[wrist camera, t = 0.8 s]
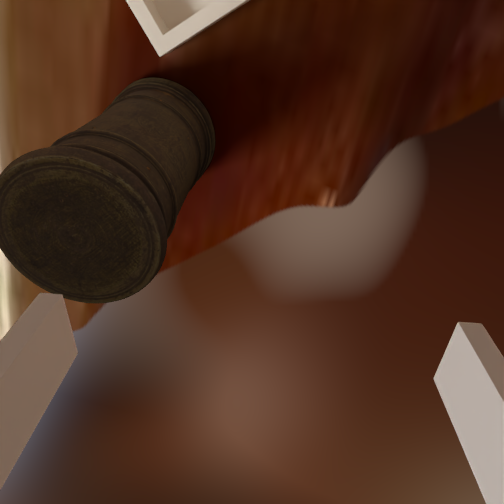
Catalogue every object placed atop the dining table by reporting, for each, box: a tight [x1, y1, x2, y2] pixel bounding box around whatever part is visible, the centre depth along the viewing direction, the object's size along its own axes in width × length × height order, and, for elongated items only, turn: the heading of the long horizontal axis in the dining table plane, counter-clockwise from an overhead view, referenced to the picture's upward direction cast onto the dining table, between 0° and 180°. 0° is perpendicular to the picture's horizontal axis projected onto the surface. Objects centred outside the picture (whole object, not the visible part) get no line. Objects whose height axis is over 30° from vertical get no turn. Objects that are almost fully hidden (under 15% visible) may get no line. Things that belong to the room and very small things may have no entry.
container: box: [0, 78, 215, 303], centre depth 26 cm, size 9×9×18 cm
